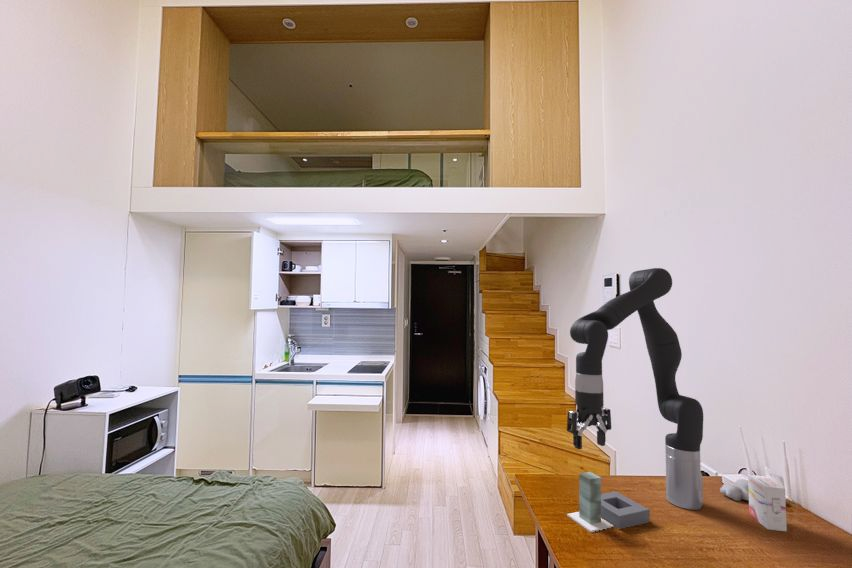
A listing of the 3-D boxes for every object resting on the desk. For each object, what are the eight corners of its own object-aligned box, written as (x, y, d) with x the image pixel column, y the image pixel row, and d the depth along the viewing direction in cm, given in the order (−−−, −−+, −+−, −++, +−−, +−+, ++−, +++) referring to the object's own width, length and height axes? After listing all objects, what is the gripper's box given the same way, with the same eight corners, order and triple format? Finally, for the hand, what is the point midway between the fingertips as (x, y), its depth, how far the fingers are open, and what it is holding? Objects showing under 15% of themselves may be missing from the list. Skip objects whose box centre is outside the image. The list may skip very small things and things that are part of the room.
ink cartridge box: (747, 514, 114) (746, 463, 115) (767, 516, 113) (765, 465, 114) (767, 529, 106) (765, 475, 107) (788, 532, 105) (785, 477, 106)
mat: (588, 511, 113) (588, 509, 113) (613, 527, 105) (613, 525, 105) (567, 515, 110) (567, 513, 110) (591, 532, 102) (591, 530, 102)
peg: (590, 514, 110) (590, 471, 111) (601, 521, 106) (600, 477, 107) (579, 516, 109) (579, 473, 110) (590, 524, 105) (590, 479, 106)
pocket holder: (615, 502, 119) (615, 491, 119) (649, 522, 108) (649, 509, 108) (586, 508, 114) (586, 496, 115) (619, 529, 104) (619, 516, 104)
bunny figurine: (712, 479, 130) (752, 473, 131) (714, 494, 129) (754, 489, 131) (736, 492, 120) (780, 486, 121) (739, 508, 120) (782, 502, 121)
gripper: (597, 385, 116) (598, 440, 115) (560, 388, 111) (560, 445, 110) (618, 390, 109) (619, 448, 108) (579, 393, 104) (580, 454, 103)
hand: (589, 446), depth 109 cm, fingers open, 8 cm apart
